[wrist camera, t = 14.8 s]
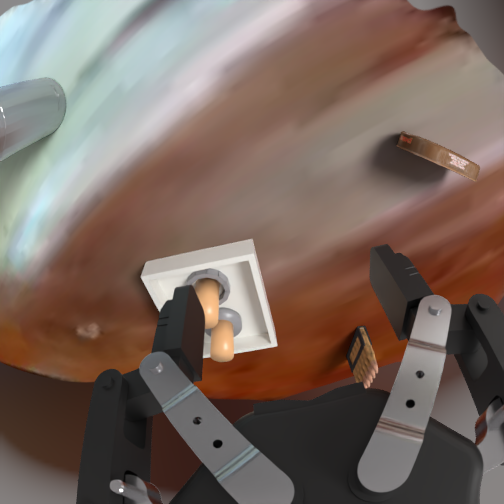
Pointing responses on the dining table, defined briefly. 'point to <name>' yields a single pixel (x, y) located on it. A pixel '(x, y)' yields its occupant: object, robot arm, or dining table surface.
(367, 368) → the ammunition clip
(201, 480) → the robot arm
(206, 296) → the tan rounded sausage
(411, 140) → the tin
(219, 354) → the housing
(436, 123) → the dining table surface
